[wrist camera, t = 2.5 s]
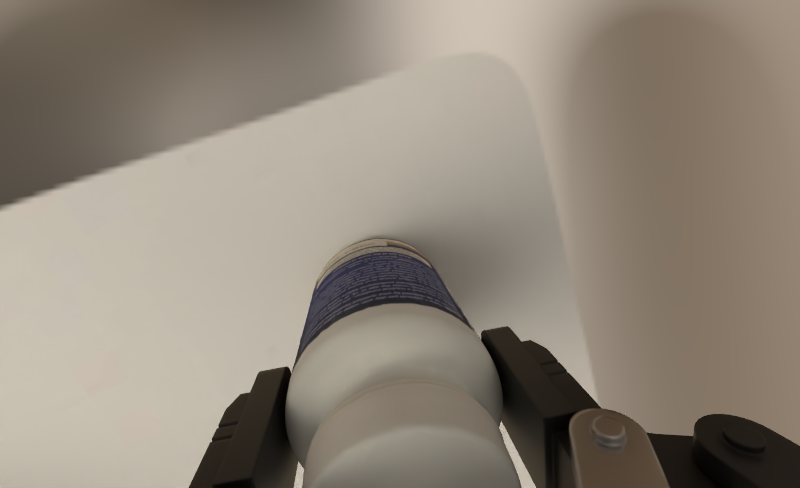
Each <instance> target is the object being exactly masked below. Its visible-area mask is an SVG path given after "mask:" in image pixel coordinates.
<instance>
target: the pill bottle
mask: <svg viewBox="0 0 800 488" xmlns="http://www.w3.org/2000/svg"><path fill="white" fill-rule="evenodd" d="M502 410H503V394H502V386H501V382H500V378H499V374H498V372H497V369H496V367H495V364H494V362H493V360H492V358H491V356H490V354H489V353H488V351H487V349H486V347H485V346H484V344H483V343H482V341H481V340H480V338H479V337H478V335H477V333H476V332H475V330H474V329H473V327H472V326H471V324H470V323H469V321H468V320H467V318H466V317H465V315H464V313H463V312H462V310H461V308H460V307H459V305H458V304H457V302H456V301H455V299H454V297H453V296H452V294H451V293H450V291H449V289H448V288H447V286H446V285H445V283H444V282H443V280H442V279H441V277H440V275H439V274H438V272H437V271H436V270H435V268H434V267H433V265H432V264H431V262H430V261H429V260H428V259H427V258H426V257H425V256H424V255H423V254H422V253H420V252H419V251H418V250H416V249H415V248H413V247H411V246H409V245H407V244H405V243H402V242H399V241H395V240H389V239H372V240H367V241H363V242H360V243H357V244H354V245H351V246H349V247H347V248H346V249H344V250H342V251H341V252H339V253H338V254H337V255H336V256H334V257H333V258H332V259H331V260H330V261H329V262H328V264H327V265H326V266H325V268H324V269H323V271H322V272H321V274H320V276H319V278H318V280H317V282H316V285H315V289H314V291H313V295H312V300H311V303H310V307H309V311H308V315H307V318H306V322H305V326H304V330H303V334H302V337H301V339H300V345H299V349H298V353H297V357H296V361H295V363H294V366H293V371H292V374H291V378H290V382H289V387H288V392H287V397H286V405H285V423H286V431H287V436H288V439H289V442H290V445H291V448H292V450H293V452H294V454H295V456H296V457H297V459H298V461H299V462H300V464H301V465H302V467H303V468H304V476H303V486H302V488H521V484H520V480H519V477H518V474H517V472H516V469H515V466H514V464H513V462H512V459H511V457H510V455H509V453H508V451H507V448H506V446H505V444H504V440H503V437H502V434H501V432H500V429H499V426H500V422H501V417H502Z"/></svg>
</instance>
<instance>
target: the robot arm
mask: <svg viewBox="0 0 800 488" xmlns="http://www.w3.org/2000/svg"><path fill="white" fill-rule="evenodd" d="M481 341H482V343H483V344H484V346H485V347H486V349H487V351H488V353H489V354H490V356H491V358H492V360H493V362H494V364H495V367H496V369H497V372H498V374H499V378H500V382H501V386H502V394H503V410H502V417H501V421H502V423H503V425H504V426H505V428H506V430H507V432H508V434H509V436H510V438H511V440H512V442H513V444H514V446H515V448H516V449H517V451H518V453H519V455H520V457H521V459H522V461H523V463H524V465H525V467H526V469H527V470H528V472H529V474H530V476H531V478H532V480H533V482H534V484H535V486H536V488H800V446H799V445H797V444H795V443H793V442H792V441H790V440H788V439H786V438H785V437H783V436H781V435H779V434H778V433H776V432H774V431H772V430H770V429H769V428H767V427H765V426H763V425H761V424H758V423H756V422H753V421H751V420H748V419H745V418H741V417H737V416H732V415H725V414H712V415H707V416H704V417H702V418H700V419H698V421H697V422H696V423H695V426H694V436H680V435H664V434H652V433H646V432H645V430H644V429H643V428H642V427H641V426H640V425H639V424H638V423H636V422H635V421H634V420H632V419H631V418H629V417H627V416H625V415H623V414H621V413H618V412H615V411H612V410H607V409H602V408H601V407H600V406H599V405H598V404H597V403H596V402H595V401H594V400H593V399H592V397H591V396H590V395H589V394H588V393H587V392H586V391H585V390H584V389H583V388H582V387H581V385H580V384H579V383H578V382H577V381H576V380H575V379H574V378H573V377H572V376H571V375H570V374H569V373H567V371H566V369H565V368H564V367H563V366H562V365H561V364H560V363H558V361H557V359H556V358H555V357H554V356H553V355H552V354H551V353H550V352H549V351H548V350H547V349H546V348H544V347H543V346H541V345H539V344H537V343H535V342H533V341H531V340H529V341H523V342H521V341H520V339H519V338H518V337H517V336H516V335H515V333H514V332H513V331H512V330H511V329H510V328H509V327H508V326H506V327H501V328H495V329H490V330H484V331H482V333H481ZM290 378H291V371H290V369H289V368H288V367H281V368H276V369H271V370H265V371H260V372H259V373H258V375H257V377H256V380H255V382H254V385H253V387H252V390H251V392H250V393H245V394H240V395H239V396H238V397H237V398H236V400H235V401H234V402H233V403H232V404H231V405H230V406H229V407H228V408H227V409H226V411H225V413H224V415H223V417H222V419H221V421H220V423H219V428H217V429H216V432H215V434H214V436H213V438H212V442H210V444H209V446H208V448H207V450H206V453H205V455H204V457H203V459H202V461H201V463H200V465H199V467H198V469H197V472H196V474H195V476H194V478H193V480H192V482H191V484H190V486H189V488H294V482H295V476H296V470H297V465H298V459H297V457H296V456H295V454H294V452H293V450H292V448H291V445H290V442H289V439H288V436H287V431H286V423H285V405H286V397H287V392H288V387H289V382H290Z"/></svg>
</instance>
